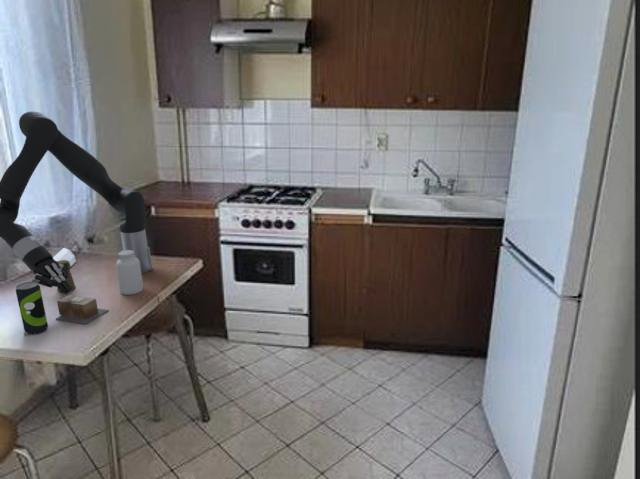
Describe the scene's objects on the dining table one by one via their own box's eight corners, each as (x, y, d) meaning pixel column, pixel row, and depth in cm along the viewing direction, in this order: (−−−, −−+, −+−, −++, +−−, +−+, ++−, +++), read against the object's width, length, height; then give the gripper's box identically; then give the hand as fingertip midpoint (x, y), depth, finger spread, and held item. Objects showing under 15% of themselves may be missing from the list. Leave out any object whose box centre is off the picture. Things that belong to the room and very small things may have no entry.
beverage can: (34, 325, 148) (24, 280, 144) (52, 325, 148) (43, 281, 143) (20, 334, 142) (9, 288, 138) (39, 335, 142) (29, 289, 137)
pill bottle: (121, 297, 168) (115, 257, 164) (119, 289, 175) (113, 250, 170) (144, 292, 171) (139, 253, 167) (141, 285, 178) (136, 247, 174)
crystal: (61, 271, 183) (80, 252, 205) (42, 264, 181) (63, 245, 203) (54, 288, 184) (74, 266, 207) (35, 280, 182) (57, 260, 205)
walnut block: (56, 300, 153) (84, 304, 149) (69, 294, 157) (95, 298, 154) (59, 314, 154) (86, 319, 151) (71, 308, 159) (98, 312, 155)
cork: (68, 292, 173) (62, 264, 169) (53, 291, 174) (48, 263, 171) (79, 286, 178) (74, 258, 175) (65, 285, 179) (60, 257, 176)
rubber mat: (55, 319, 152) (55, 318, 152) (79, 306, 161) (79, 305, 161) (85, 324, 148) (85, 323, 148) (108, 311, 157) (108, 310, 157)
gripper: (45, 253, 161) (79, 290, 161) (9, 266, 149) (47, 307, 149) (54, 239, 158) (89, 278, 158) (18, 252, 146) (57, 293, 146)
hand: (69, 292), depth 153 cm, fingers closed
